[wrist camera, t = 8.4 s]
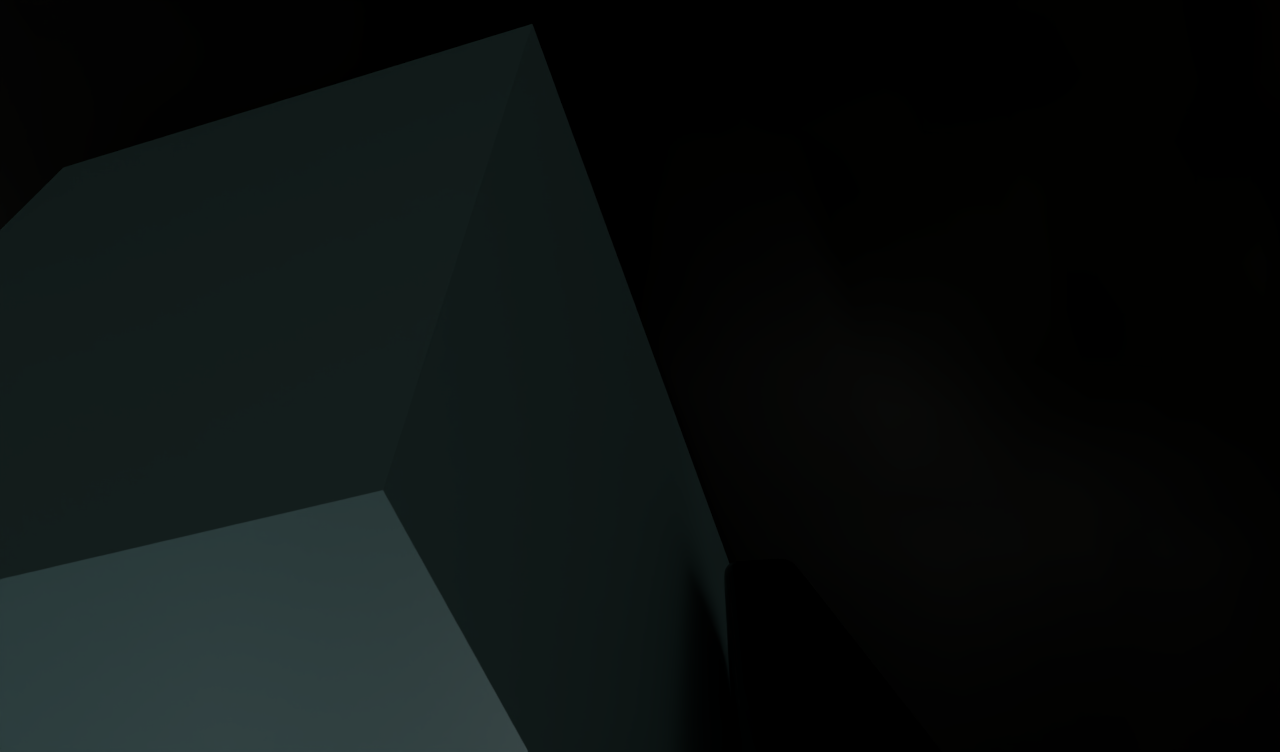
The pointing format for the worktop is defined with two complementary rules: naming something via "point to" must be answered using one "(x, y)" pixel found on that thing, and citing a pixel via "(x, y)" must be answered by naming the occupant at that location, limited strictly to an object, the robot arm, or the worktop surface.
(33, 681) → the dark grey-teal rectangular block
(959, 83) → the worktop surface
